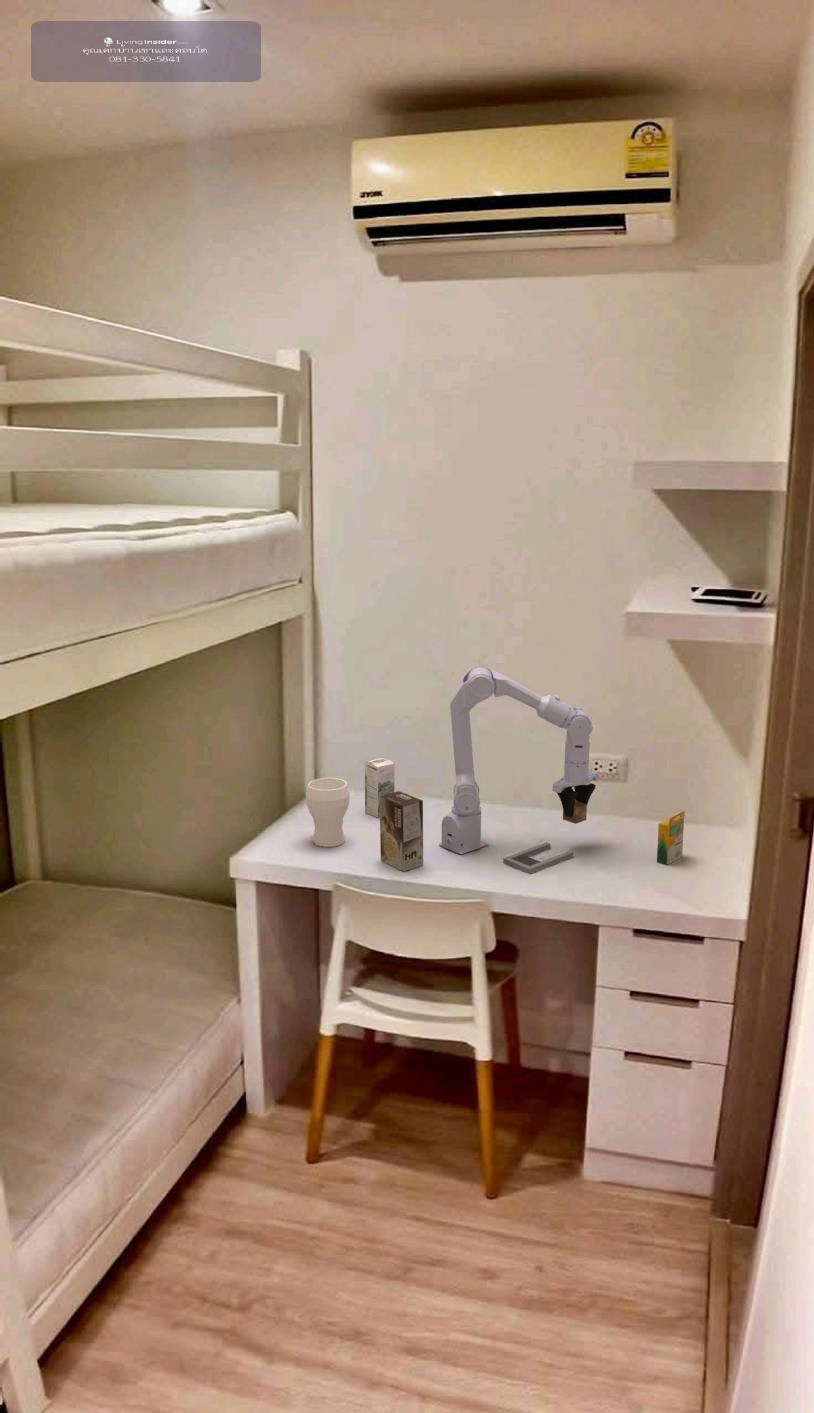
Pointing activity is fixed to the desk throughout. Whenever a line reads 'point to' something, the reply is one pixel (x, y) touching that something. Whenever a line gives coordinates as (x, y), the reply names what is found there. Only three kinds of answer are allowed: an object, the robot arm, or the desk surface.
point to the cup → (328, 809)
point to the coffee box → (401, 830)
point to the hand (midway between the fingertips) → (574, 814)
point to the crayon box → (670, 839)
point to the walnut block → (577, 813)
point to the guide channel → (514, 863)
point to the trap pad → (528, 861)
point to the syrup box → (378, 783)
